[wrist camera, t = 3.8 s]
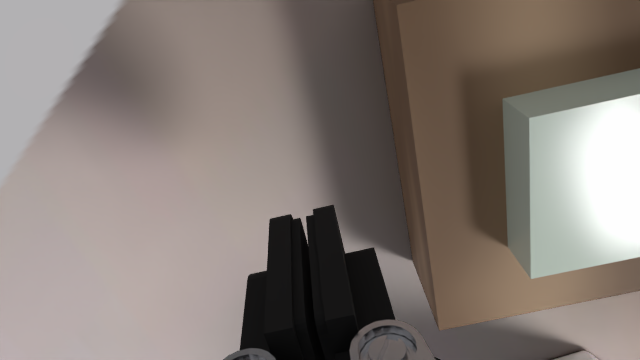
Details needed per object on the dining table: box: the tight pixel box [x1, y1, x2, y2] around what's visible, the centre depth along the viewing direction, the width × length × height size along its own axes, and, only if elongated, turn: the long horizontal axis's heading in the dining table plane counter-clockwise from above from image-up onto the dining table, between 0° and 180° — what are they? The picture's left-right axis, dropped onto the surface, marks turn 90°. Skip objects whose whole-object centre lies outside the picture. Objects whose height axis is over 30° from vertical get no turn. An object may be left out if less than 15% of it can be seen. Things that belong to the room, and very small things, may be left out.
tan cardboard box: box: [373, 0, 640, 331], centre depth 15 cm, size 14×11×4 cm
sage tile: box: [502, 68, 640, 279], centre depth 13 cm, size 5×5×2 cm
